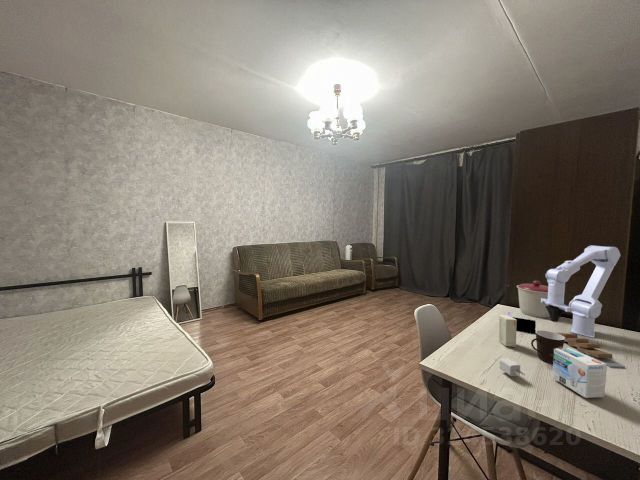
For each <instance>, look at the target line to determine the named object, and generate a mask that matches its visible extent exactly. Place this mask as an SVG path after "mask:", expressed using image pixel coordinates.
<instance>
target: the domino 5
mask: <svg viewBox="0 0 640 480" xmlns="http://www.w3.org/2000/svg"><path fill="white" fill-rule="evenodd" d="M585 355H587V356H590V357H592V358H594V359H596V360H598V361H601V362H603V363H605V364H607V368H610V369H611V368H613V369H625V365H622V364H620V363H619V362H616V361H615V360H613V359H612V358H598V357H595V356H592V355H589V354H586V353H585Z"/></svg>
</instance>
